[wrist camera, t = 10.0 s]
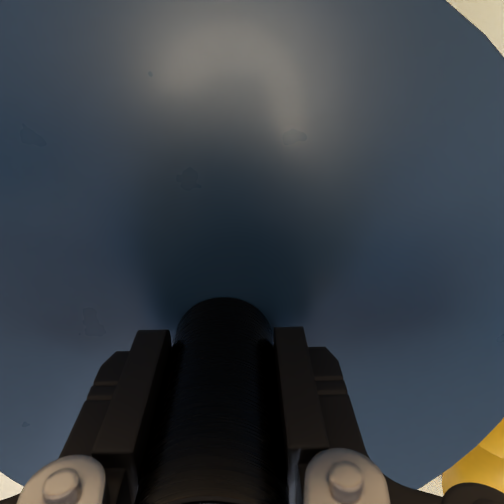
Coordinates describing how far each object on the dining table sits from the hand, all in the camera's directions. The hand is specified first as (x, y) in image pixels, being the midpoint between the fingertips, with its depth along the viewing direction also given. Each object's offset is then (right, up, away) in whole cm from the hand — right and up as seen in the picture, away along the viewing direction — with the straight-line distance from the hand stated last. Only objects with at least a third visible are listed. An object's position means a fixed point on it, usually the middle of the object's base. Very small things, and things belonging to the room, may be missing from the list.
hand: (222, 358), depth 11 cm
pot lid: (0, +1, +1) cm, 1 cm away
